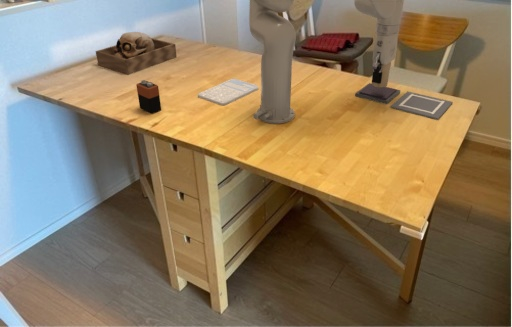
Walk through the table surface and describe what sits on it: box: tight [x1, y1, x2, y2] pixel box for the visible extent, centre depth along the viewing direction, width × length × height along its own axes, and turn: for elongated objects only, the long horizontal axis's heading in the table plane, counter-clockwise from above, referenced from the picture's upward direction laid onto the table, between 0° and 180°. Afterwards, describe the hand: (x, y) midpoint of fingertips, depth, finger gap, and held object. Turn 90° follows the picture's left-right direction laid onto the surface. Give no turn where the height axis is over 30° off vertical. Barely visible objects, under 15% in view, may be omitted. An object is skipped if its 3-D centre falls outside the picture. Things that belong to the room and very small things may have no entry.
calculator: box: [197, 78, 260, 107], centre depth 159 cm, size 13×20×2 cm, turn 141°
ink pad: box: [354, 82, 401, 105], centre depth 157 cm, size 12×12×2 cm
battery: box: [135, 79, 162, 114], centre depth 145 cm, size 4×7×10 cm, turn 48°
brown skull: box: [114, 31, 154, 59], centre depth 186 cm, size 16×18×14 cm
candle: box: [371, 61, 392, 88], centre depth 152 cm, size 6×6×10 cm
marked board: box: [389, 91, 453, 121], centre depth 149 cm, size 16×16×1 cm
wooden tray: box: [95, 37, 177, 75], centre depth 189 cm, size 27×20×6 cm
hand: (380, 79), depth 154 cm, fingers closed on candle, 5 cm apart
